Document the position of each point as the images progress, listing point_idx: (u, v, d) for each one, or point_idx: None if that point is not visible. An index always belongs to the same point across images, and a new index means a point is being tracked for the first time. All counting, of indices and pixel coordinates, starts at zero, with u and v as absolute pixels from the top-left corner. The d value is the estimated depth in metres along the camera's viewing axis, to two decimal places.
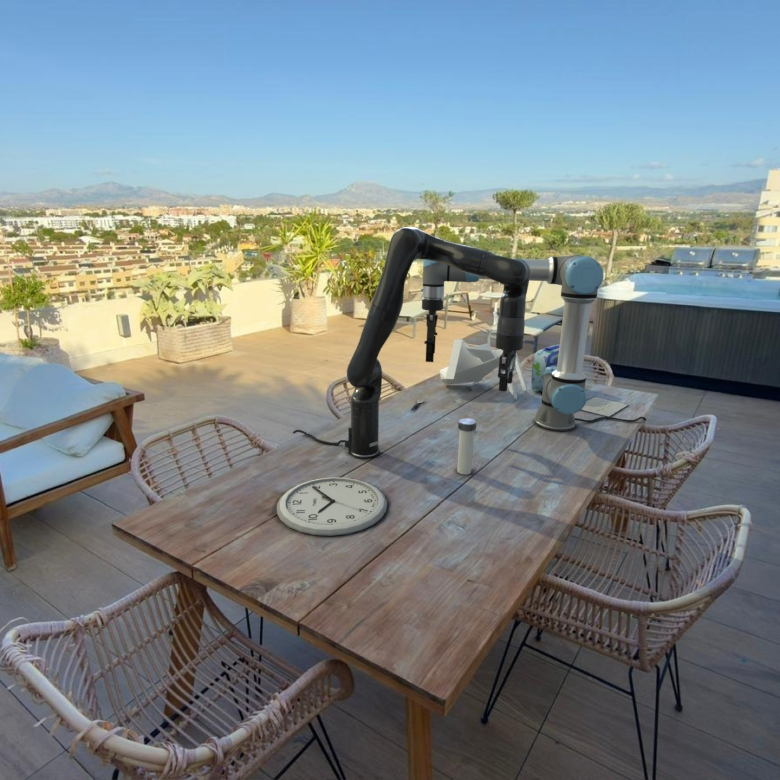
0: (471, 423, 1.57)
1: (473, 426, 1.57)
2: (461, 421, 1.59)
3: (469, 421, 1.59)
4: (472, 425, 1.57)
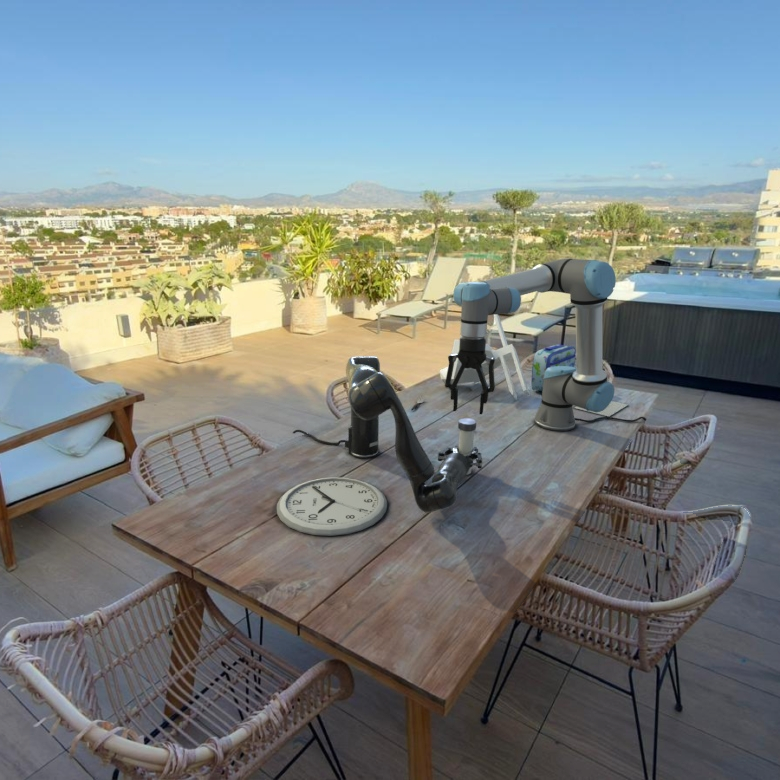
0: (471, 423, 1.57)
1: (473, 426, 1.57)
2: (461, 421, 1.59)
3: (469, 421, 1.59)
4: (472, 425, 1.57)
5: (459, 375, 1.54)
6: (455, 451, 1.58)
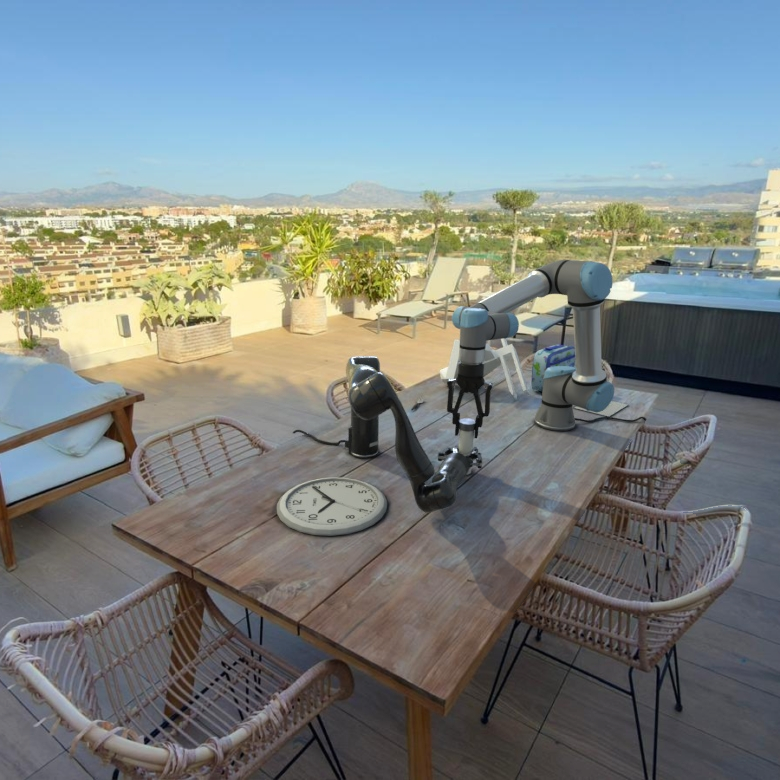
0: (471, 423, 1.57)
1: (473, 426, 1.57)
2: (461, 421, 1.59)
3: (469, 421, 1.59)
4: (472, 425, 1.57)
5: (459, 400, 1.57)
6: (455, 451, 1.58)
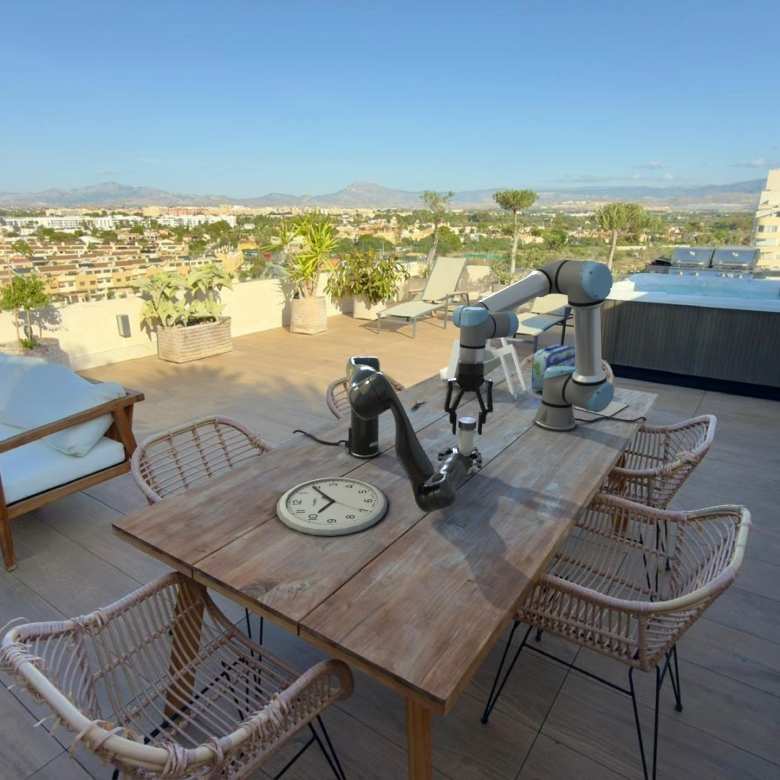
0: (471, 418, 1.60)
1: None
2: (470, 422, 1.57)
3: (467, 419, 1.59)
4: None
5: (459, 399, 1.56)
6: (455, 451, 1.58)
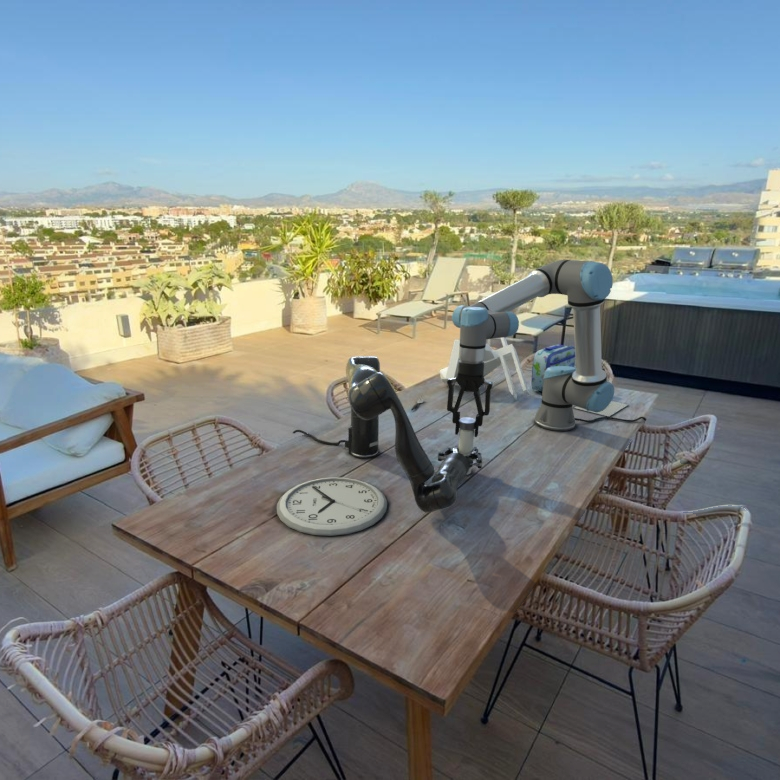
0: (471, 418, 1.60)
1: None
2: (470, 422, 1.57)
3: (467, 419, 1.59)
4: None
5: (459, 399, 1.56)
6: (455, 451, 1.58)
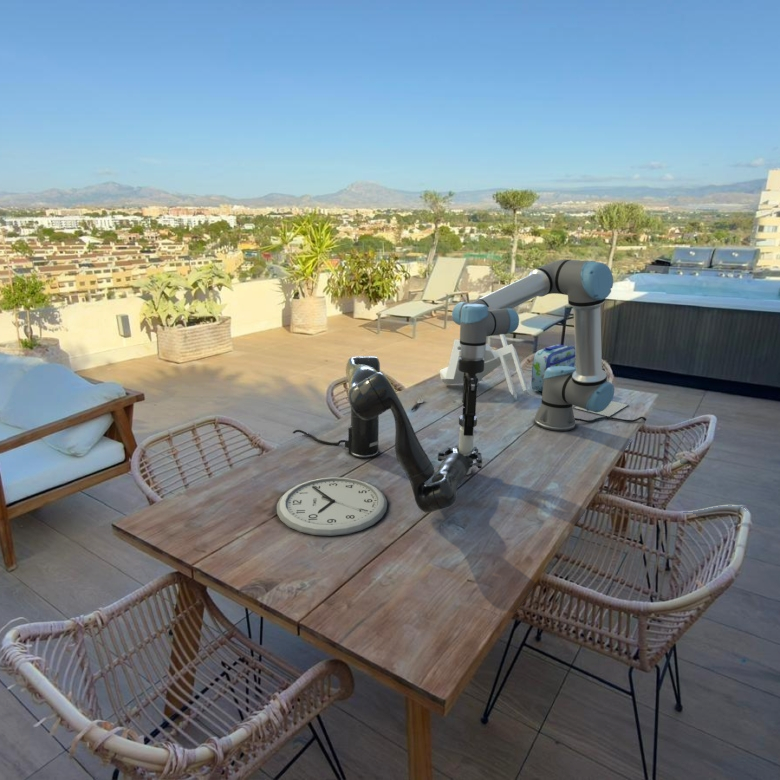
0: (462, 416, 1.60)
1: None
2: None
3: None
4: None
5: None
6: (455, 451, 1.58)
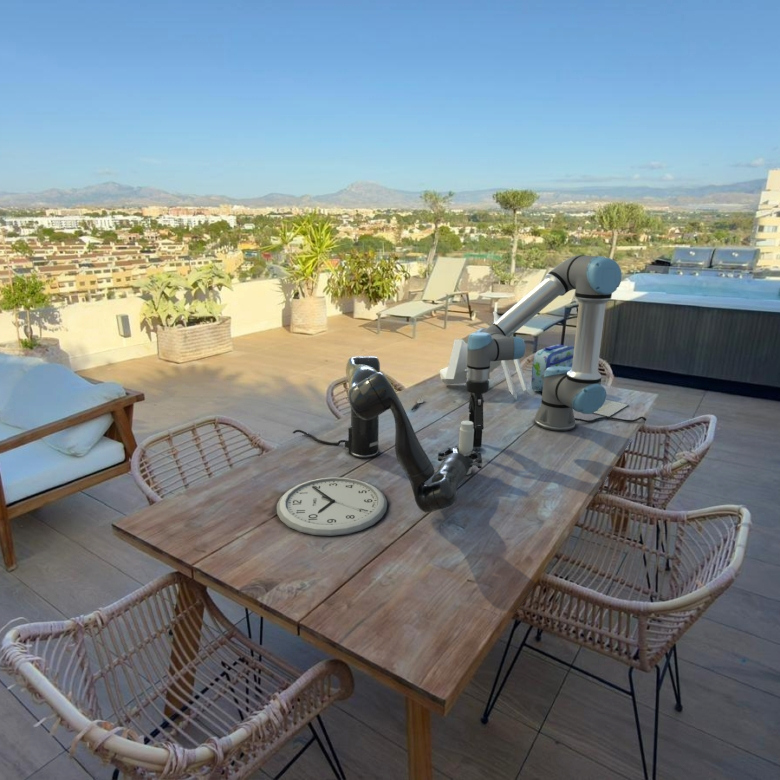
0: None
1: None
2: None
3: None
4: None
5: None
6: (455, 451, 1.58)
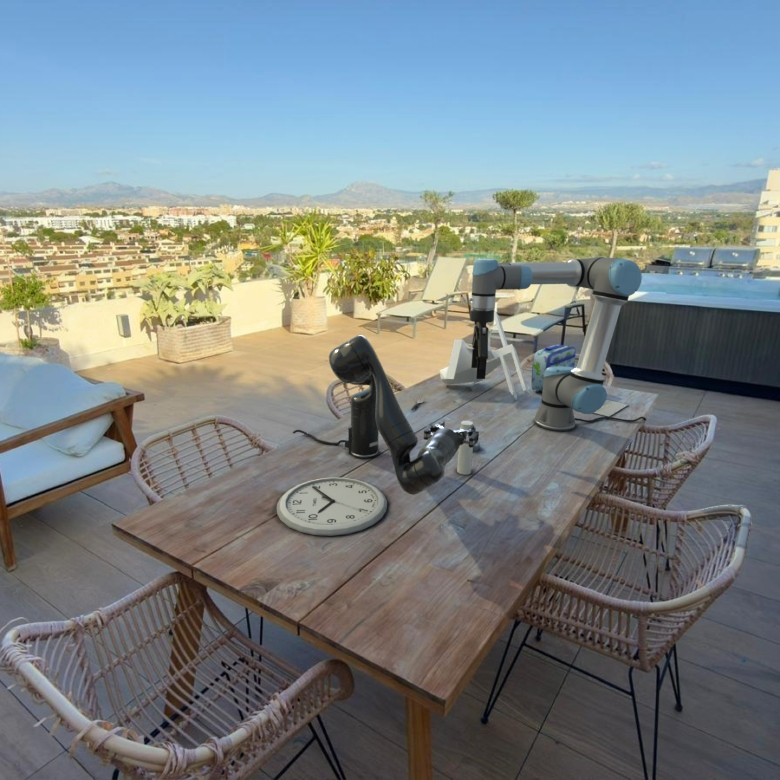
0: None
1: None
2: None
3: None
4: None
5: None
6: (442, 427, 1.42)
